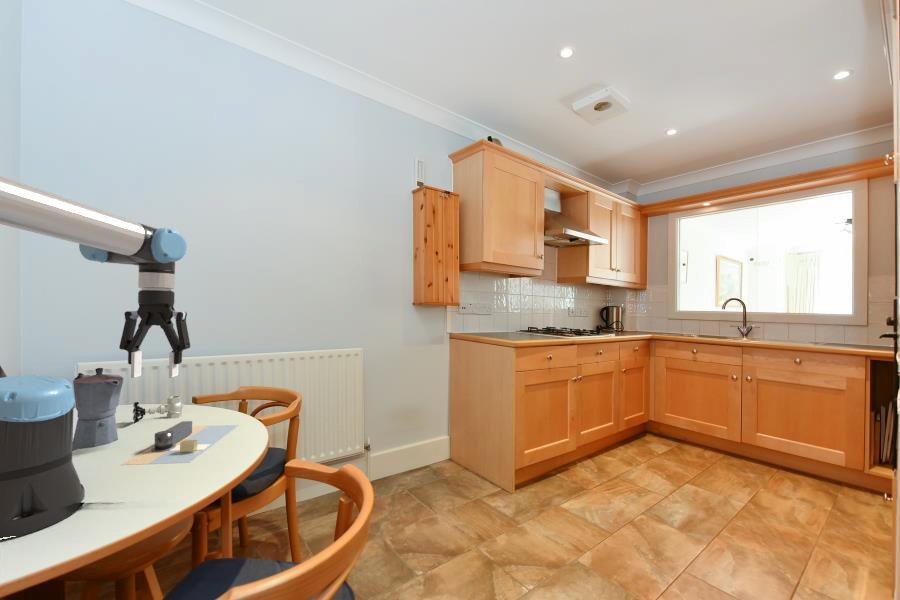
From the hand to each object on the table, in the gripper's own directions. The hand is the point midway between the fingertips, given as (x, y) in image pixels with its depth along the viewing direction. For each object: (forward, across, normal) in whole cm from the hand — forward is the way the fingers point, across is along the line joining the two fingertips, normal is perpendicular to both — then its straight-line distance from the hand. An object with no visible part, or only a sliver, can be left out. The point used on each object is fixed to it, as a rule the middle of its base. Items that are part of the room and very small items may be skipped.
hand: (155, 376), depth 99 cm
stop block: (+16, -14, +10) cm, 23 cm away
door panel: (+17, -10, +4) cm, 20 cm away
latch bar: (+16, -7, +3) cm, 18 cm away
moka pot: (+18, +13, +2) cm, 22 cm away
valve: (+18, +11, -20) cm, 29 cm away
